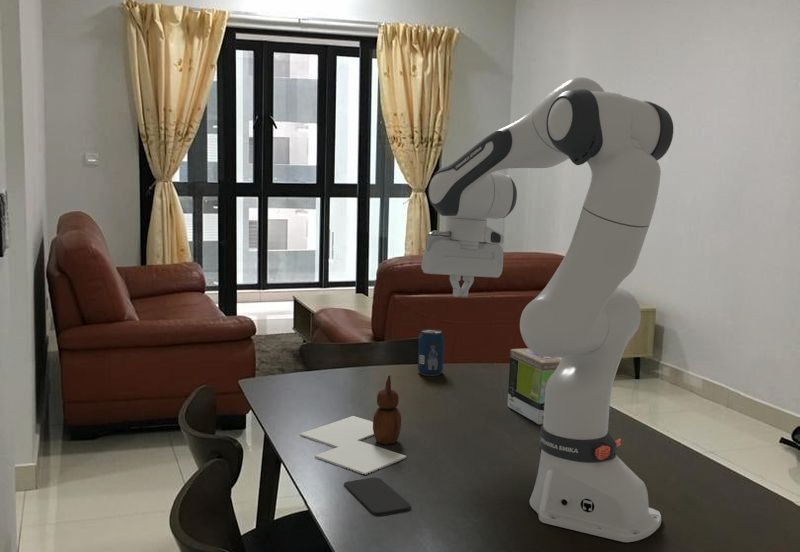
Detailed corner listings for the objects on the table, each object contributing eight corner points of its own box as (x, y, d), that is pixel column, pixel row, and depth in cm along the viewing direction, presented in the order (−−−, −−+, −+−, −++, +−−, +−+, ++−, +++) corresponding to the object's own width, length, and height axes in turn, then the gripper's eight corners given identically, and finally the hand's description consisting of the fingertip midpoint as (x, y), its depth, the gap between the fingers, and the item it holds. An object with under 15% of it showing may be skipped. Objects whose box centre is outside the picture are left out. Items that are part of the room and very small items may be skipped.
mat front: (391, 428, 189) (391, 427, 189) (338, 448, 176) (338, 446, 176) (353, 417, 196) (353, 415, 196) (299, 435, 183) (299, 433, 183)
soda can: (431, 368, 241) (432, 327, 239) (447, 374, 236) (449, 331, 234) (412, 372, 237) (414, 330, 235) (429, 377, 231) (430, 334, 230)
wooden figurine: (396, 448, 177) (398, 378, 174) (369, 445, 178) (371, 376, 176) (403, 437, 183) (405, 370, 181) (377, 435, 184) (378, 368, 182)
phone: (378, 476, 161) (413, 506, 147) (378, 480, 161) (413, 511, 147) (341, 482, 157) (374, 513, 144) (341, 486, 157) (374, 518, 144)
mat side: (406, 457, 172) (406, 455, 171) (365, 475, 162) (365, 473, 162) (356, 441, 180) (356, 440, 180) (314, 457, 170) (314, 455, 170)
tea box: (575, 422, 198) (579, 360, 195) (537, 426, 194) (541, 363, 192) (541, 403, 211) (544, 345, 209) (505, 406, 208) (508, 347, 205)
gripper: (436, 230, 176) (430, 296, 176) (509, 236, 187) (504, 299, 188) (418, 229, 181) (413, 293, 181) (491, 235, 193) (485, 296, 193)
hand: (460, 296), depth 185 cm, fingers closed
